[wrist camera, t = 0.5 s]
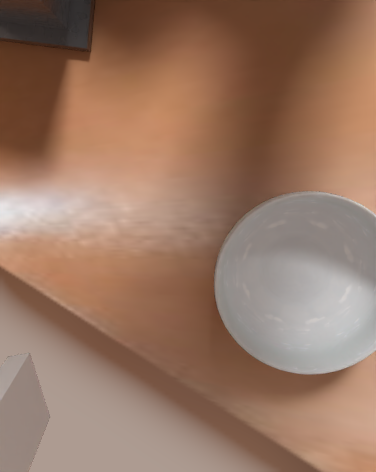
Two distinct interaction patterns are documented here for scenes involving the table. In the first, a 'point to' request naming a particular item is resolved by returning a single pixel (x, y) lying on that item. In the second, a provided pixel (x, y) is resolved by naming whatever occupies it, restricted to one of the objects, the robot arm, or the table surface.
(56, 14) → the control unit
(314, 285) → the cereal bowl
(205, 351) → the table surface
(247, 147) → the table surface
